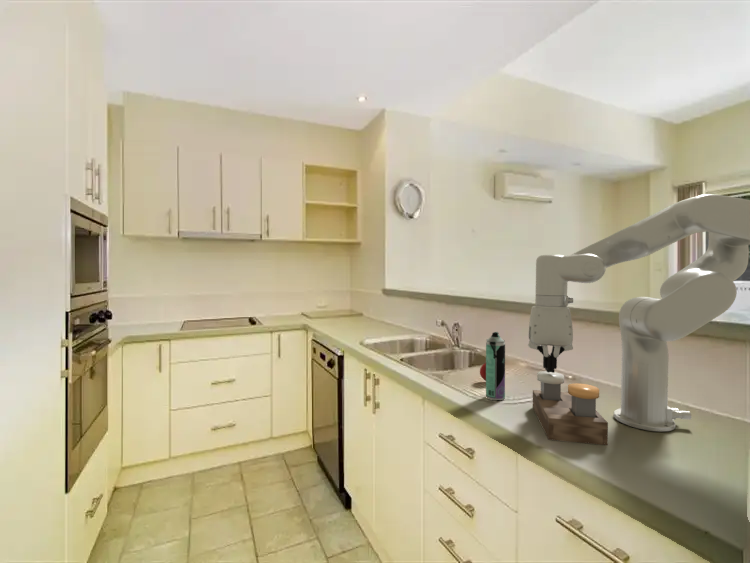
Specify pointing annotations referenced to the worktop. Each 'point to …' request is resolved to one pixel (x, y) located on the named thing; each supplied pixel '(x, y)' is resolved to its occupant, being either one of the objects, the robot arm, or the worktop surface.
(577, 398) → the orange button
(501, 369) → the spray can
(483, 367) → the onion
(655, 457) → the worktop surface
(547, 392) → the white button
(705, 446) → the worktop surface
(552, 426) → the button panel
